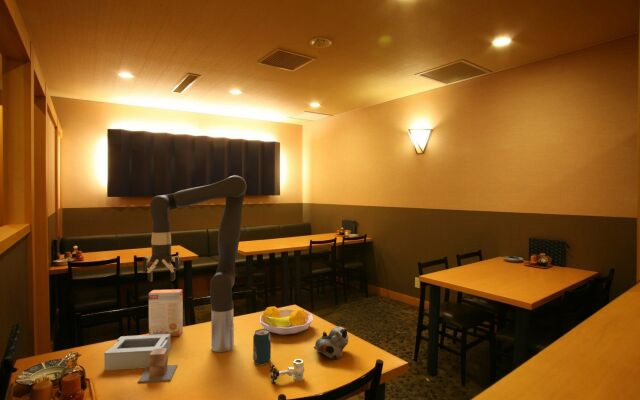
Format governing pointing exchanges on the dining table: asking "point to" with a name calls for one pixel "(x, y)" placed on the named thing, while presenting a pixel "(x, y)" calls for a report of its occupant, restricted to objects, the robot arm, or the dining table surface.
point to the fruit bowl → (285, 320)
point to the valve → (289, 371)
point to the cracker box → (166, 312)
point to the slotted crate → (134, 351)
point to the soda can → (261, 346)
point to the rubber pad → (166, 377)
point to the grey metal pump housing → (333, 343)
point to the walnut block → (158, 362)
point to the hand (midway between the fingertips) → (161, 281)
